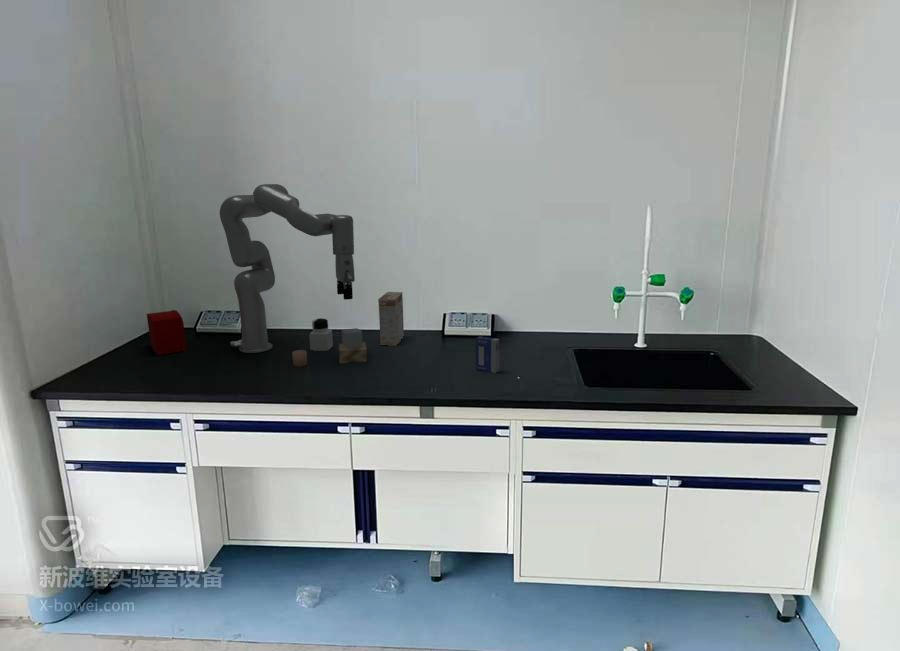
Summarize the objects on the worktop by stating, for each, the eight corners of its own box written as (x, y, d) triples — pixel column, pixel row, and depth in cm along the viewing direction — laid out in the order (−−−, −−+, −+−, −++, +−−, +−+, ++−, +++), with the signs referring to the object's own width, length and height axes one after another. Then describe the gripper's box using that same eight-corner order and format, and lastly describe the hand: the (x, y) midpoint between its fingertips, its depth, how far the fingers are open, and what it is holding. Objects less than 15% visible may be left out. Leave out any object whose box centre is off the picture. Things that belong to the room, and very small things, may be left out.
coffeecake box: (388, 336, 246) (386, 291, 242) (404, 336, 246) (403, 291, 241) (379, 345, 232) (377, 298, 227) (396, 346, 231) (395, 299, 226)
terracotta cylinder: (294, 368, 206) (293, 354, 204) (292, 364, 210) (291, 351, 209) (308, 366, 208) (307, 352, 206) (306, 362, 212) (305, 349, 211)
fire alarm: (187, 351, 227) (182, 314, 223) (157, 356, 221) (152, 318, 217) (179, 342, 240) (175, 307, 236) (151, 347, 234) (146, 311, 230)
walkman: (475, 370, 201) (475, 337, 198) (479, 367, 204) (479, 335, 201) (496, 373, 197) (496, 339, 194) (499, 371, 200) (499, 337, 197)
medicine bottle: (333, 346, 232) (331, 317, 229) (327, 351, 225) (325, 321, 223) (316, 345, 233) (314, 317, 230) (310, 350, 226) (308, 321, 223)
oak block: (339, 364, 210) (339, 351, 209) (339, 356, 220) (338, 343, 219) (367, 362, 212) (366, 349, 211) (365, 354, 222) (365, 342, 220)
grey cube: (347, 349, 211) (346, 333, 210) (342, 345, 216) (341, 330, 215) (362, 347, 214) (362, 331, 212) (357, 343, 219) (356, 328, 217)
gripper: (359, 252, 200) (361, 300, 205) (347, 246, 216) (349, 291, 220) (338, 253, 197) (340, 302, 202) (327, 247, 213) (329, 292, 217)
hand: (344, 296), depth 211 cm, fingers open, 9 cm apart
